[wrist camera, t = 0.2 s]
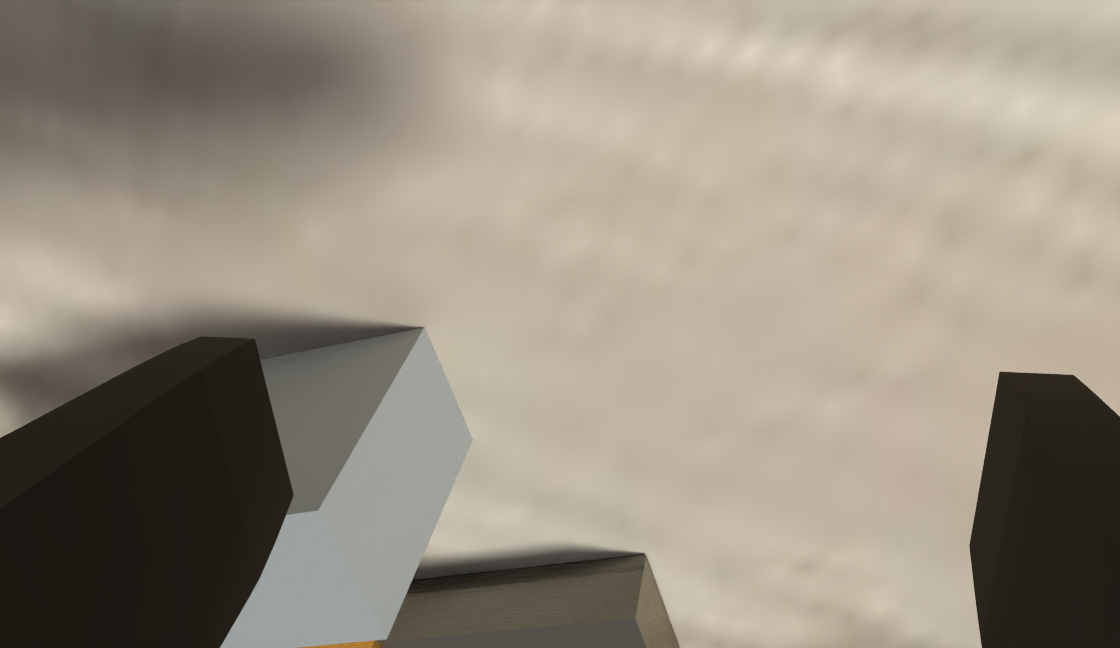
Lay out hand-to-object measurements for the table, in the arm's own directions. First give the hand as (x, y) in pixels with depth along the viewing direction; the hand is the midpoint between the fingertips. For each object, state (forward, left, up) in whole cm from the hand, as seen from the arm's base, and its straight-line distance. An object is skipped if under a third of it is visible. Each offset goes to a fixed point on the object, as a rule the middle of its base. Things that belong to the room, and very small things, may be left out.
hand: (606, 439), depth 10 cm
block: (-5, +10, -10) cm, 15 cm away
